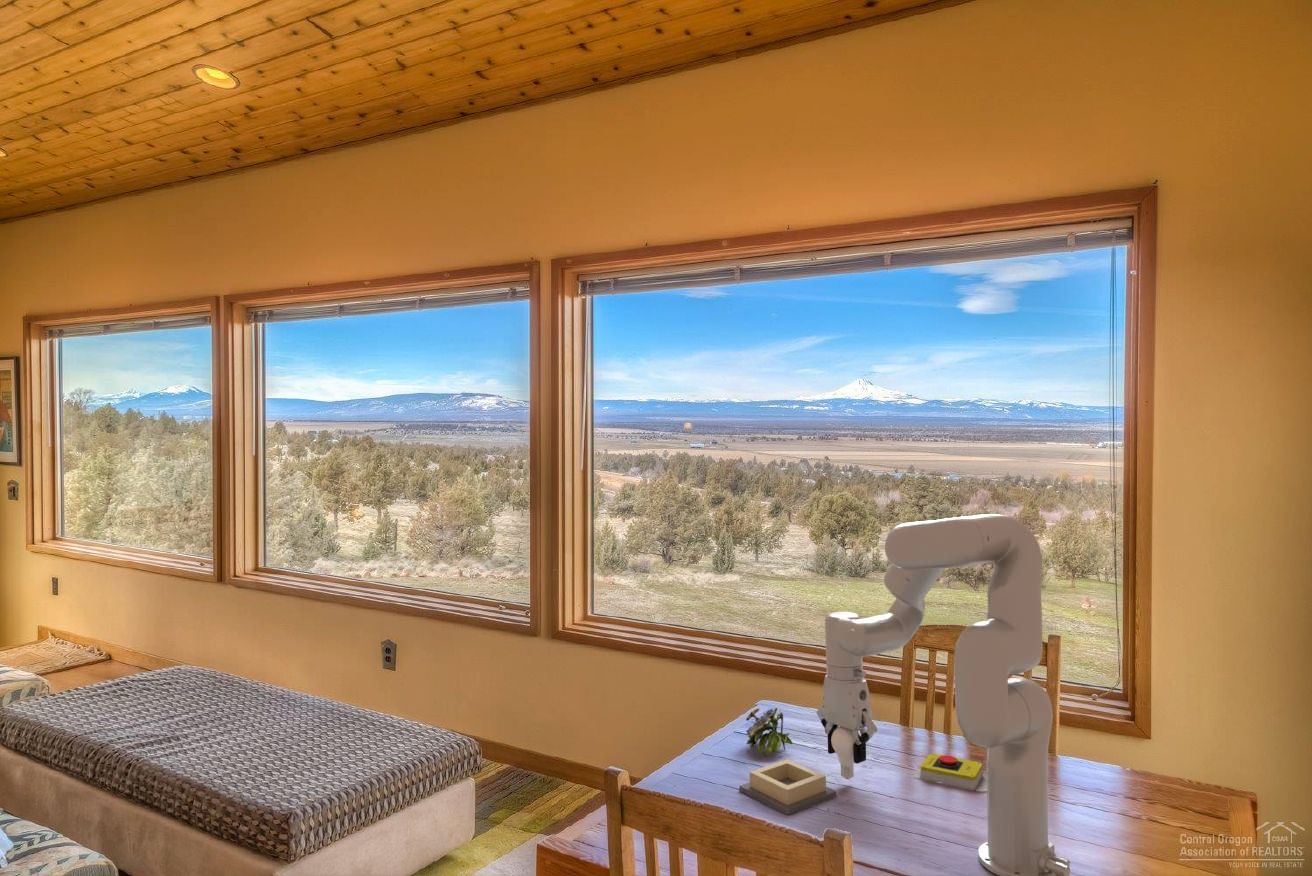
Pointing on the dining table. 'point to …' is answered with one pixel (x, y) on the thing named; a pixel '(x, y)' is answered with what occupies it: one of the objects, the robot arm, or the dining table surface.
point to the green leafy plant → (772, 736)
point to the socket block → (787, 786)
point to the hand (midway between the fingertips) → (846, 756)
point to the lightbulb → (844, 750)
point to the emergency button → (953, 772)
